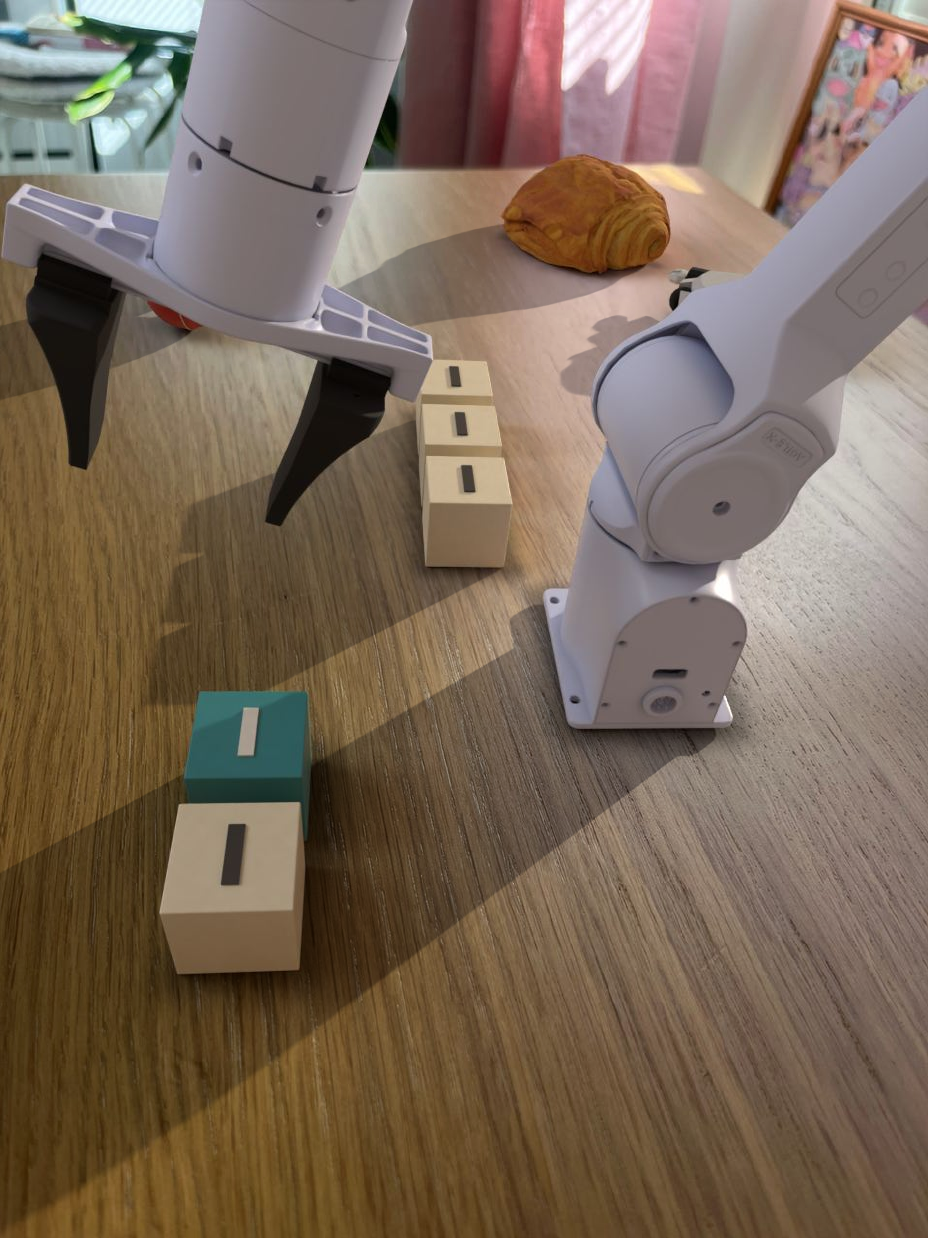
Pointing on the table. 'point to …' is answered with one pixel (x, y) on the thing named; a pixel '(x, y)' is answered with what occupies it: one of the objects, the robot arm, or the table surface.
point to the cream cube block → (454, 386)
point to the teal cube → (250, 749)
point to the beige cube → (465, 511)
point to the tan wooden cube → (457, 433)
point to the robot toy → (696, 282)
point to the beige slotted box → (235, 888)
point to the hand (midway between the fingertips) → (182, 483)
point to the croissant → (588, 216)
